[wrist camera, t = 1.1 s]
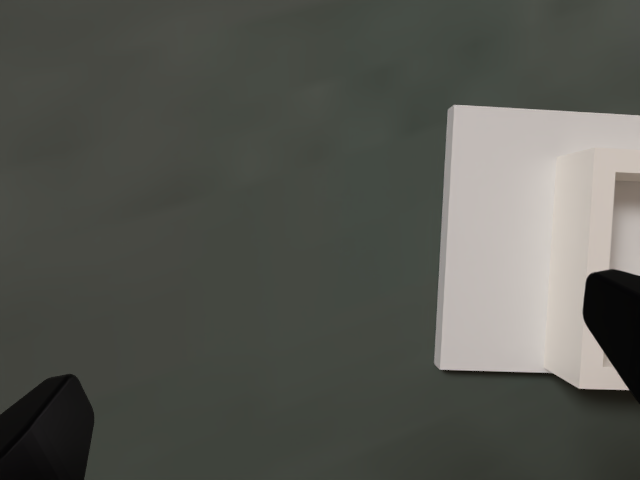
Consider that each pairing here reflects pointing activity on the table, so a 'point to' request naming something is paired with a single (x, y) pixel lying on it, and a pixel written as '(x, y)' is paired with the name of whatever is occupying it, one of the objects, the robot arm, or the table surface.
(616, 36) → the table surface
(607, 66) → the table surface
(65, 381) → the robot arm
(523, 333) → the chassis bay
